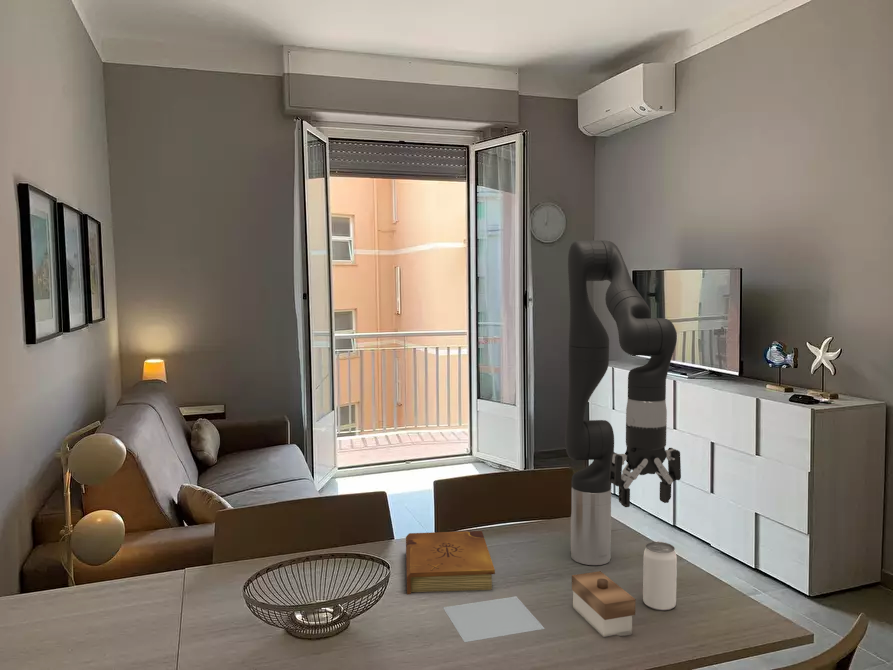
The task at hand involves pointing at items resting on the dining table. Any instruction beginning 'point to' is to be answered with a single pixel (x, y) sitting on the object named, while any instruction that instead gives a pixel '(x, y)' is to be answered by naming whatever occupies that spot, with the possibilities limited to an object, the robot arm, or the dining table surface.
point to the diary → (448, 562)
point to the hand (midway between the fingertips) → (644, 503)
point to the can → (659, 576)
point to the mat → (492, 619)
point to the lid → (603, 595)
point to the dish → (602, 620)
